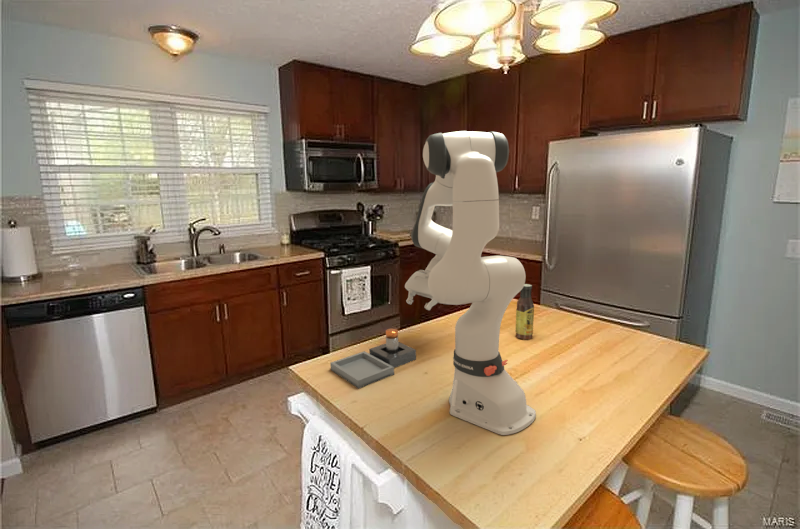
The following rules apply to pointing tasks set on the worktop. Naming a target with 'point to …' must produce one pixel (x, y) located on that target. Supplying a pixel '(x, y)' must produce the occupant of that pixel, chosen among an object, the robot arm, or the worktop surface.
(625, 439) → the worktop surface
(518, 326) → the sauce bottle
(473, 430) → the worktop surface
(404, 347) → the receiver
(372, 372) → the tray
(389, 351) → the pin
